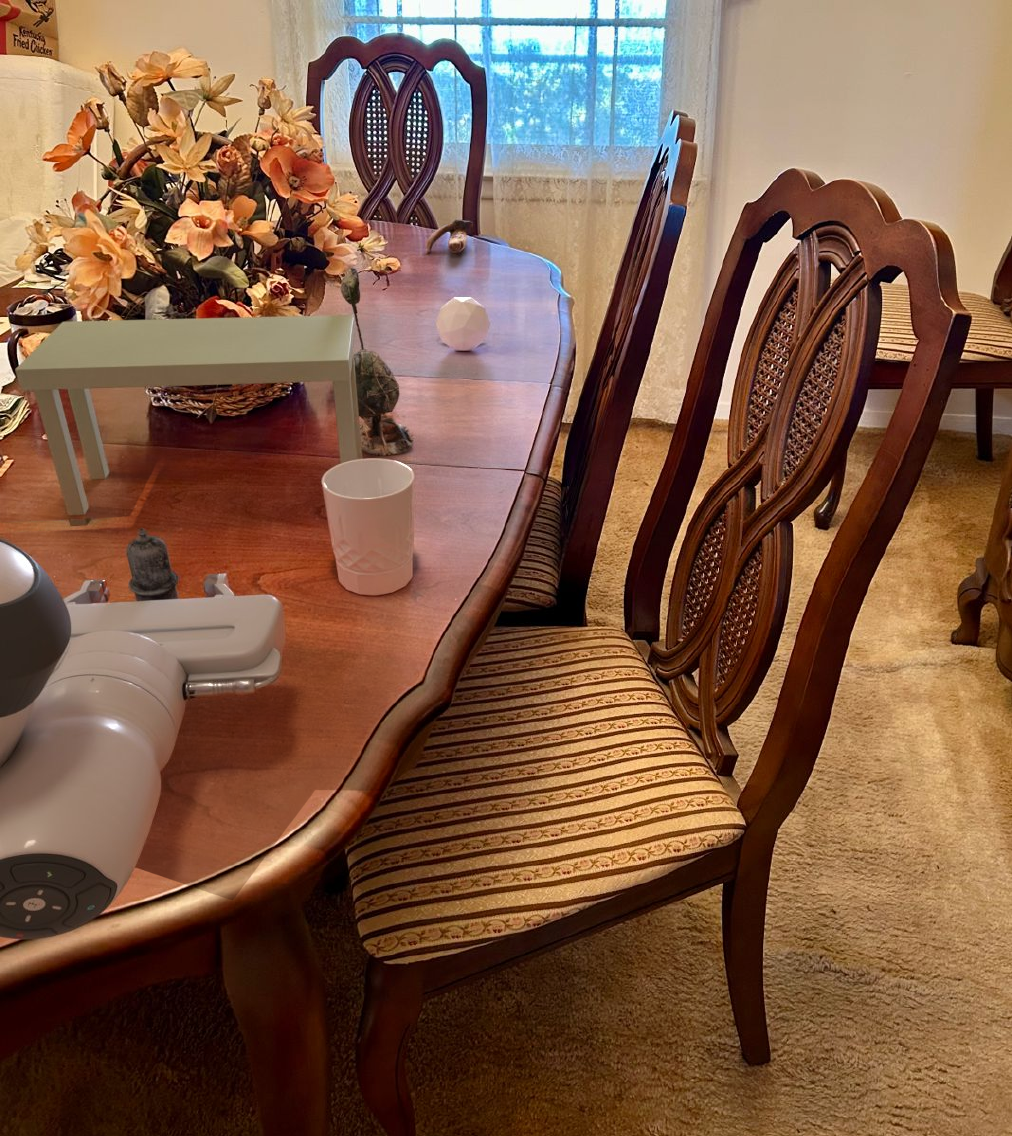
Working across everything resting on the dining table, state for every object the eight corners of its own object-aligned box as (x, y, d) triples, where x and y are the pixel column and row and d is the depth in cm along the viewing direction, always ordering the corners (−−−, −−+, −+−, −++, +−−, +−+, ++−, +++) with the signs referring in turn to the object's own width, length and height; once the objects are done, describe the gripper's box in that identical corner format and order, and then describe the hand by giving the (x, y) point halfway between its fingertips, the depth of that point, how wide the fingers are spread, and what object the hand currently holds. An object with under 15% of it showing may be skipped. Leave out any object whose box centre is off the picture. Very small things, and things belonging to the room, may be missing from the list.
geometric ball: (457, 362, 142) (456, 311, 143) (500, 351, 138) (499, 299, 139) (425, 349, 136) (425, 296, 137) (470, 337, 132) (469, 283, 132)
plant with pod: (337, 465, 105) (319, 286, 94) (352, 426, 114) (338, 259, 104) (409, 466, 105) (400, 287, 94) (418, 426, 114) (410, 259, 104)
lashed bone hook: (431, 240, 202) (423, 258, 186) (429, 217, 200) (422, 234, 184) (474, 239, 202) (470, 257, 186) (473, 216, 199) (469, 232, 184)
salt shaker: (179, 689, 71) (148, 554, 65) (116, 672, 73) (80, 539, 66) (224, 646, 76) (200, 516, 69) (164, 631, 77) (135, 503, 71)
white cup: (397, 607, 81) (390, 505, 75) (316, 590, 83) (304, 490, 78) (432, 562, 87) (428, 465, 82) (356, 548, 89) (347, 452, 84)
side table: (62, 537, 91) (14, 369, 82) (100, 474, 102) (62, 321, 94) (362, 524, 93) (348, 359, 84) (365, 464, 105) (353, 314, 96)
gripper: (271, 651, 59) (291, 542, 71) (-67, 671, 57) (11, 555, 69) (283, 726, 62) (300, 610, 74) (-36, 747, 61) (33, 625, 72)
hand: (158, 584), depth 72 cm, fingers open, 8 cm apart
